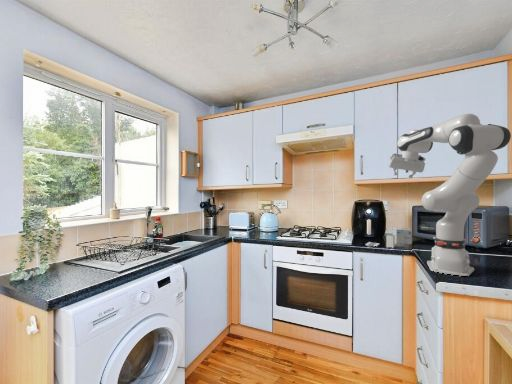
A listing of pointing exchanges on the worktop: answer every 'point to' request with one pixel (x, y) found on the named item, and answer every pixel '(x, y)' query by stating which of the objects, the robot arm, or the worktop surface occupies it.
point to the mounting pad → (372, 244)
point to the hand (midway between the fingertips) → (402, 176)
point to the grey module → (390, 240)
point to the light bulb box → (402, 235)
